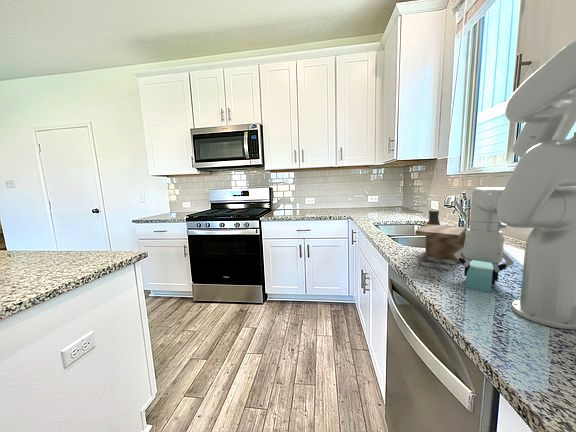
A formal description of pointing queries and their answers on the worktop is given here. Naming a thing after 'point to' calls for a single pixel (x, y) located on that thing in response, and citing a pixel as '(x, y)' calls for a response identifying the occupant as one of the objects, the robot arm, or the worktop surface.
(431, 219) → the sauce bottle
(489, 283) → the teal rectangular block
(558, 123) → the robot arm
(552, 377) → the worktop surface
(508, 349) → the worktop surface
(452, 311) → the worktop surface
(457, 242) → the overhang shelf
